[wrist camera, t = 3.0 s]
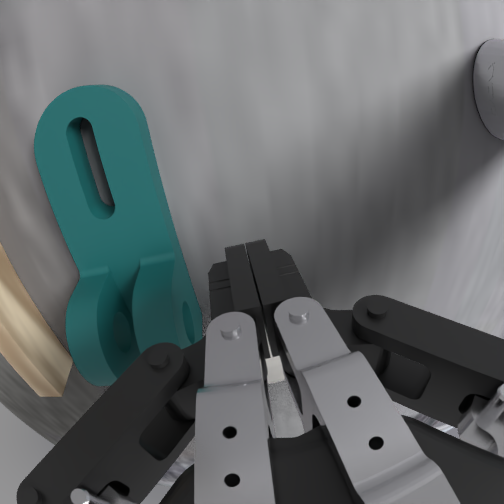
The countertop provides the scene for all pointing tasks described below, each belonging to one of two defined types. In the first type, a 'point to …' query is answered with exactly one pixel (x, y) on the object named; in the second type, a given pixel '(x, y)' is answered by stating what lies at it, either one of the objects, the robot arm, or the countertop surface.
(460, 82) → the countertop surface
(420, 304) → the countertop surface
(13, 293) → the batten
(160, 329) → the bracket
